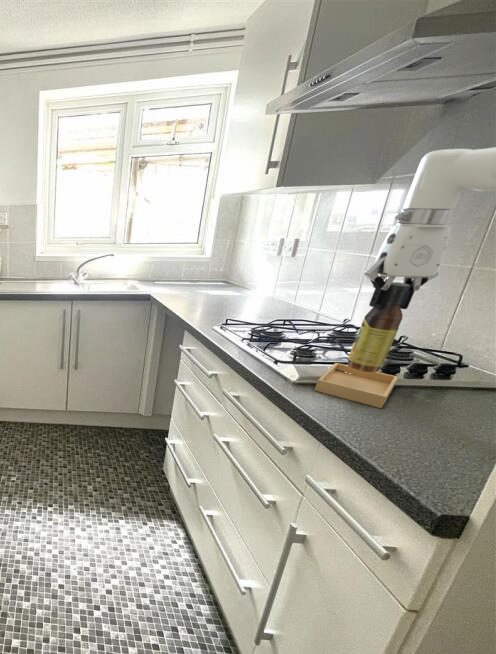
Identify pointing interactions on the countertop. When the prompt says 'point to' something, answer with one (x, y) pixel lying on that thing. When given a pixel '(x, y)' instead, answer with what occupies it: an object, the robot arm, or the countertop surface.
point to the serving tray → (357, 385)
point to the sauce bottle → (378, 332)
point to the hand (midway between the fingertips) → (387, 306)
